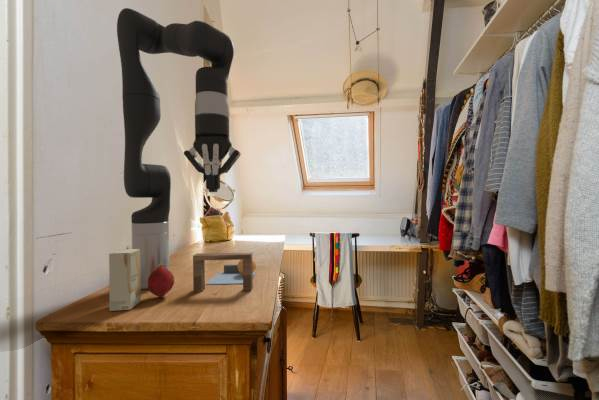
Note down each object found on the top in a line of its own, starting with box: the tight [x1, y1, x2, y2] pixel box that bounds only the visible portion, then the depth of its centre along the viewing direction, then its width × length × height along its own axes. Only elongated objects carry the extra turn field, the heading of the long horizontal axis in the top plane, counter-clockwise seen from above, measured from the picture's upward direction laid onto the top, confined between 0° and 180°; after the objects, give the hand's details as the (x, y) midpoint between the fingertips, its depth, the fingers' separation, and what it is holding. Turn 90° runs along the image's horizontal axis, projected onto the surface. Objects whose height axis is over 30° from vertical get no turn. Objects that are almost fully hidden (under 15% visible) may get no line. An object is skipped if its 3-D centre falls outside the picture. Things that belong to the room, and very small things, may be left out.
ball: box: [237, 258, 257, 275], centre depth 92 cm, size 6×6×6 cm
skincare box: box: [108, 248, 142, 312], centre depth 66 cm, size 6×4×12 cm
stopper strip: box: [223, 264, 240, 273], centre depth 95 cm, size 8×1×2 cm, turn 91°
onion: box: [147, 264, 175, 298], centre depth 72 cm, size 6×6×8 cm
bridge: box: [192, 252, 254, 293], centre depth 77 cm, size 3×14×9 cm, turn 91°
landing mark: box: [205, 271, 256, 286], centre depth 88 cm, size 12×12×1 cm
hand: (213, 191), depth 69 cm, fingers closed
